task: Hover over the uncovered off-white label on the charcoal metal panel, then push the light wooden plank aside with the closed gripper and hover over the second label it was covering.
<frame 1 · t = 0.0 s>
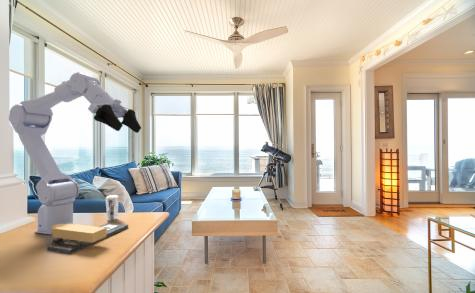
hand: (129, 129, 68), 32 cm above the counter, tool tilted 50°, fingers open, 7 cm apart
milkshake: (113, 220, 87), on the counter
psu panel: (92, 237, 70), on the counter
pivot plinth: (58, 241, 67), on the counter
light wooden plank: (76, 231, 65), point 3 cm above the counter, hinge at 0.0°
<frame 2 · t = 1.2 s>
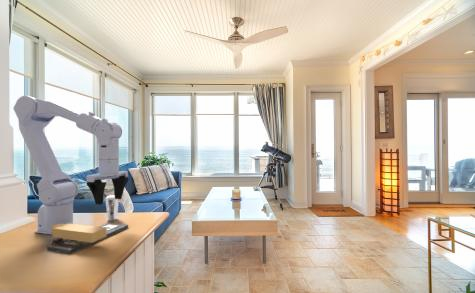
hand: (109, 201, 75), 9 cm above the counter, tool pointing down, fingers open, 7 cm apart
nothing on the counter moved.
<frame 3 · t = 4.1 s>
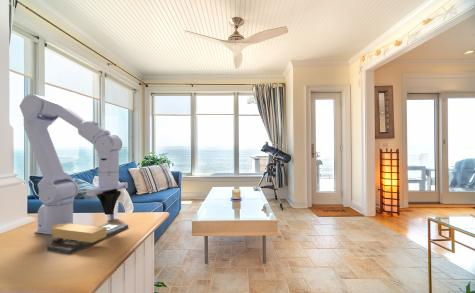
hand: (108, 214, 75), 5 cm above the counter, tool pointing down, fingers closed
nothing on the counter moved.
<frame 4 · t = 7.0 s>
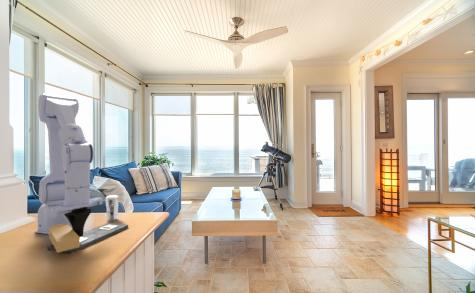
hand: (77, 236, 64), 3 cm above the counter, tool pointing down, fingers closed, pressing on light wooden plank
light wooden plank: (62, 235, 62), point 3 cm above the counter, hinge at 28.4°, touching gripper
everything else where it was.
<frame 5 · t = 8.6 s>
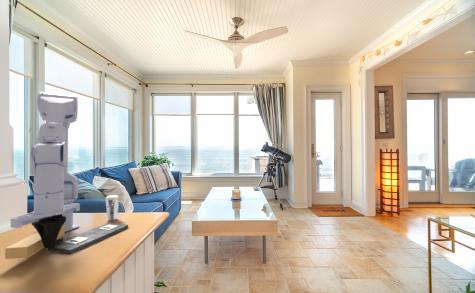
hand: (49, 247, 57), 2 cm above the counter, tool pointing down, fingers closed
light wooden plank: (41, 238, 60), point 3 cm above the counter, hinge at 65.6°, touching gripper
everything else where it was.
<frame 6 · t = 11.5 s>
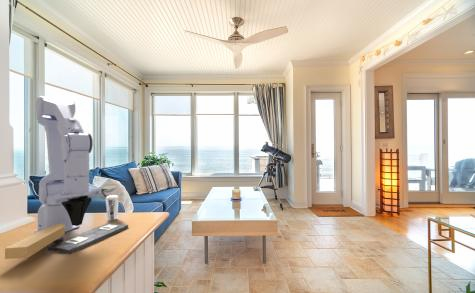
hand: (76, 224, 65), 5 cm above the counter, tool pointing down, fingers closed
light wooden plank: (41, 238, 60), point 3 cm above the counter, hinge at 65.8°
everything else where it was.
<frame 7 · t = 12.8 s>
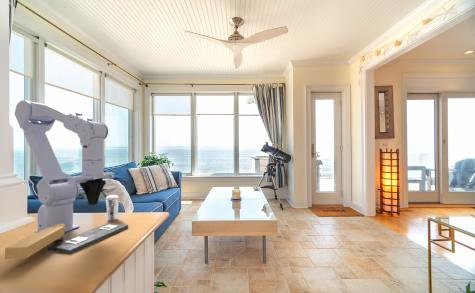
hand: (93, 204, 72), 9 cm above the counter, tool pointing down, fingers closed
nothing on the counter moved.
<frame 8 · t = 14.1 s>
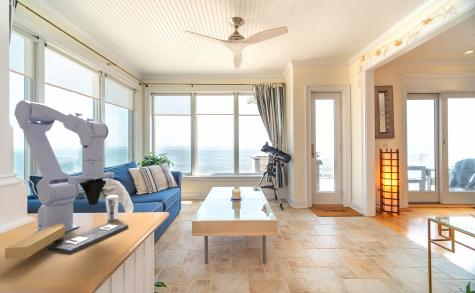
hand: (93, 204, 72), 9 cm above the counter, tool pointing down, fingers closed
nothing on the counter moved.
at the end: light wooden plank at +66° (first picture: +0°); milkshake moved 0.2 cm from its start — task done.
